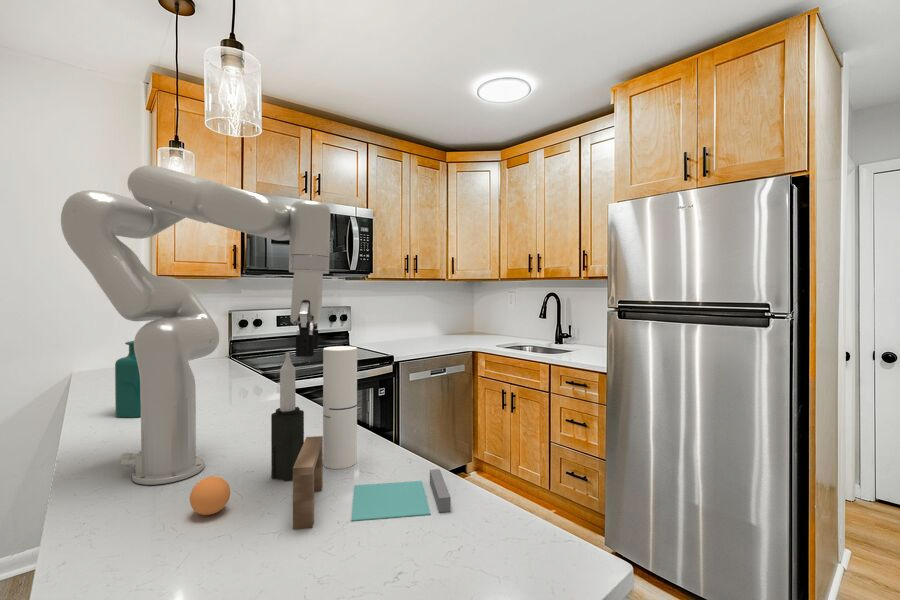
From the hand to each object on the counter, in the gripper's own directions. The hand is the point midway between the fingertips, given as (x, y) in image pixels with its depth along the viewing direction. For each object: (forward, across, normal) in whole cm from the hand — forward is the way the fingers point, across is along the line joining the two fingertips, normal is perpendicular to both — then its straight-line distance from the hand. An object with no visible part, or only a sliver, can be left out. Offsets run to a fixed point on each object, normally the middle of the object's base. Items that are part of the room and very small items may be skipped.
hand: (307, 352), depth 88 cm
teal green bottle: (+27, -57, -54) cm, 83 cm away
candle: (+26, -3, -4) cm, 26 cm away
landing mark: (+25, +12, +16) cm, 32 cm away
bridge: (+25, +12, +2) cm, 28 cm away
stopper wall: (+25, +12, +25) cm, 37 cm away
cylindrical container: (+25, -7, +7) cm, 27 cm away
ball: (+22, +11, -14) cm, 29 cm away
